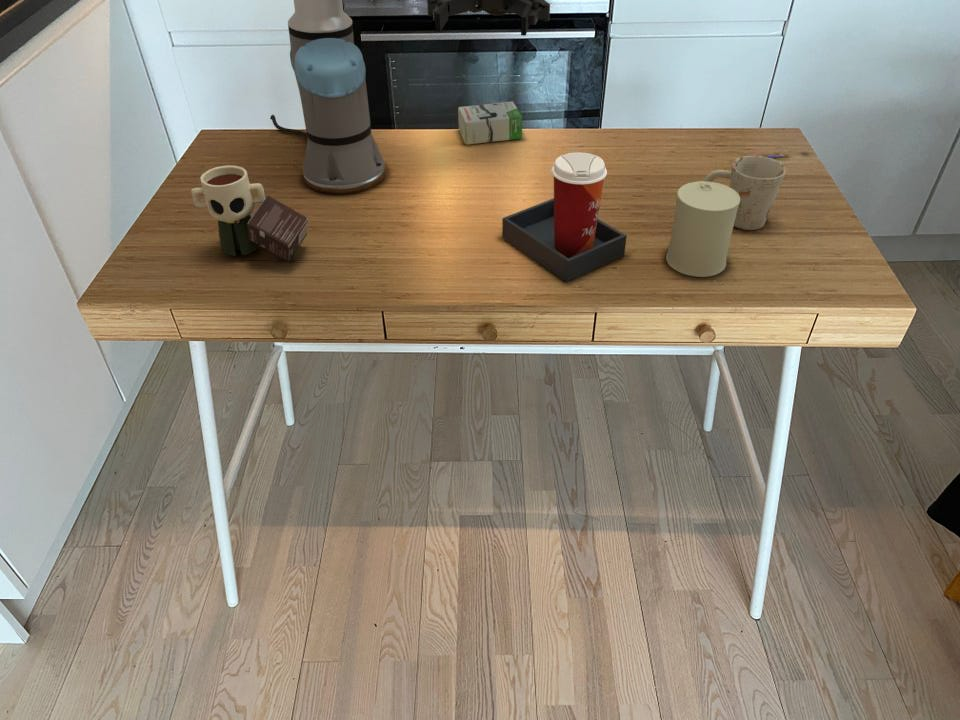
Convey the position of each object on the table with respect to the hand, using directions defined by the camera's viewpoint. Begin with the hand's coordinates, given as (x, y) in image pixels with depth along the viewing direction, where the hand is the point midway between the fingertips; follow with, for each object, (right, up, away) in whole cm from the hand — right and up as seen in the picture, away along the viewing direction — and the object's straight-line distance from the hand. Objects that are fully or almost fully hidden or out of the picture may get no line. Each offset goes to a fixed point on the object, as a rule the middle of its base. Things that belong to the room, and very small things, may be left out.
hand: (480, 24), depth 120 cm
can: (+34, -37, +2) cm, 50 cm away
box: (-28, -34, +1) cm, 44 cm away
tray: (+13, -34, +5) cm, 37 cm away
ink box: (+8, -3, +38) cm, 39 cm away
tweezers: (+57, -12, +29) cm, 65 cm away
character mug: (-39, -34, +6) cm, 52 cm away
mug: (+43, -29, +11) cm, 53 cm away
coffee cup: (+15, -35, +3) cm, 38 cm away
